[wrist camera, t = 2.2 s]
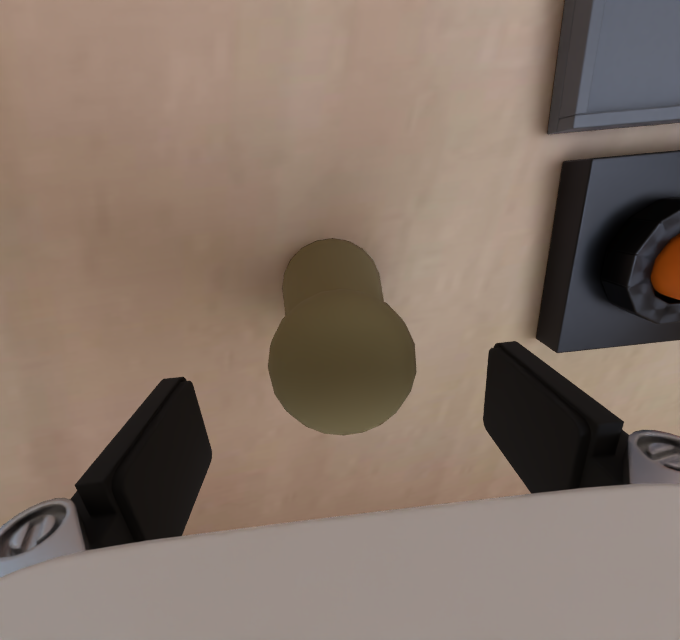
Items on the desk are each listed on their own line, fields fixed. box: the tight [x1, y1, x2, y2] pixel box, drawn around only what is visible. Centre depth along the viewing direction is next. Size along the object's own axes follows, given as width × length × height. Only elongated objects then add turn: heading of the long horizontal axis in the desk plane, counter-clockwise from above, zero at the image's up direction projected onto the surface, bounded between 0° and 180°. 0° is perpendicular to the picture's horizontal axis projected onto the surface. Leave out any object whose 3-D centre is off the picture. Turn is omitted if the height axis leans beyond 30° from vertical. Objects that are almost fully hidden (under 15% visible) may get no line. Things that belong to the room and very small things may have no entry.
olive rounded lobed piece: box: [268, 238, 416, 435], centre depth 15 cm, size 6×6×11 cm
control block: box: [536, 150, 680, 353], centre depth 19 cm, size 11×10×4 cm
